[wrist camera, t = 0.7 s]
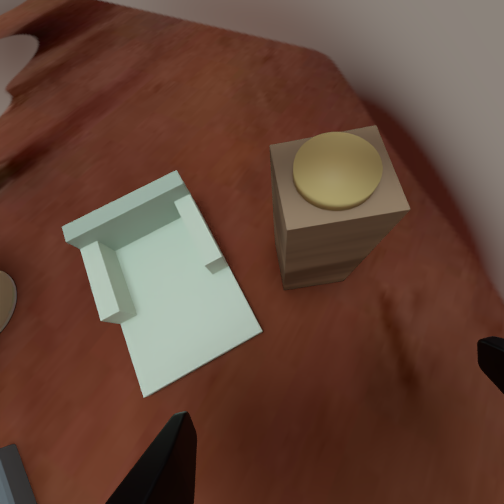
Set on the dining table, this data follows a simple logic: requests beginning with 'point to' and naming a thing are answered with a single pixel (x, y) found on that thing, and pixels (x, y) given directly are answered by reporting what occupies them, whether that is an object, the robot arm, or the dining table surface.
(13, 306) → the coffee cup
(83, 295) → the dining table surface
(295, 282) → the walnut block
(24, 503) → the bracket
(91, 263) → the sage cradle
